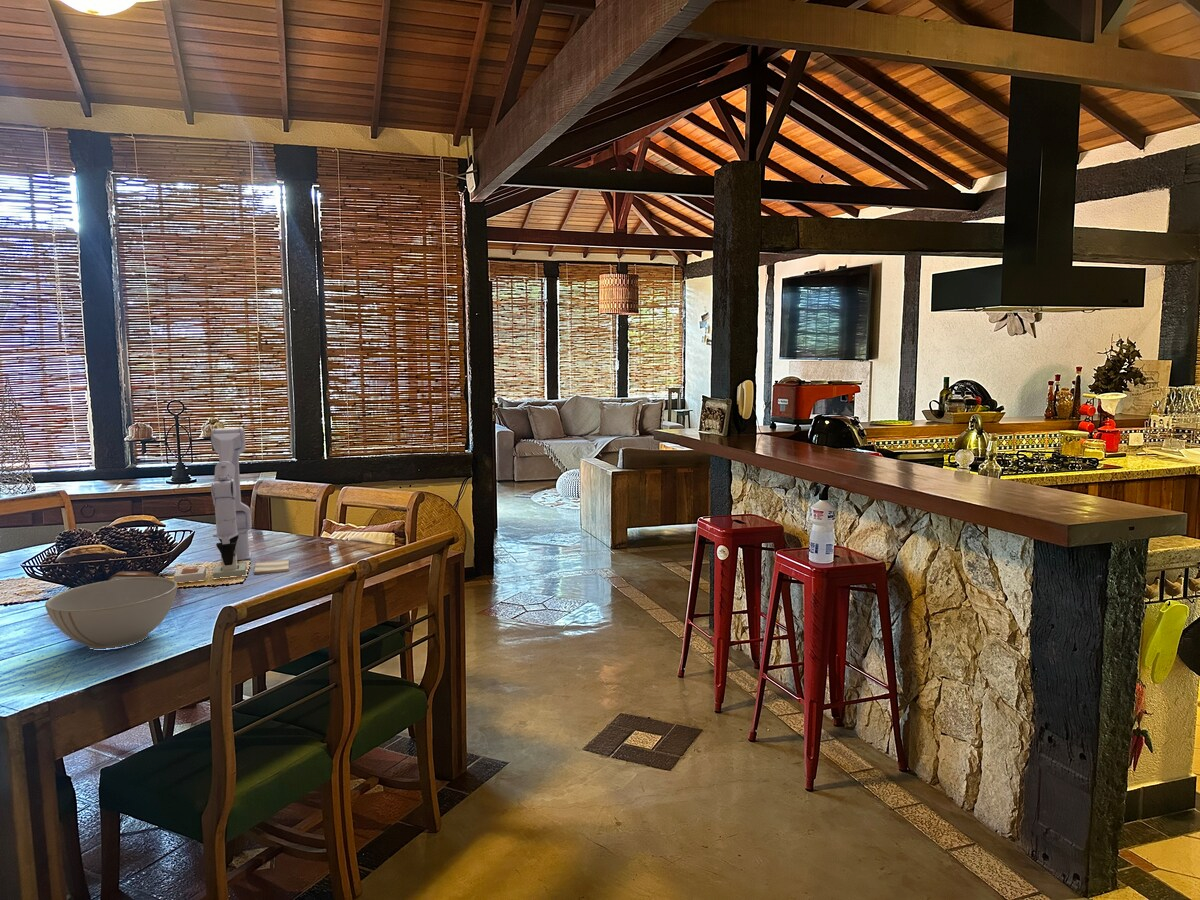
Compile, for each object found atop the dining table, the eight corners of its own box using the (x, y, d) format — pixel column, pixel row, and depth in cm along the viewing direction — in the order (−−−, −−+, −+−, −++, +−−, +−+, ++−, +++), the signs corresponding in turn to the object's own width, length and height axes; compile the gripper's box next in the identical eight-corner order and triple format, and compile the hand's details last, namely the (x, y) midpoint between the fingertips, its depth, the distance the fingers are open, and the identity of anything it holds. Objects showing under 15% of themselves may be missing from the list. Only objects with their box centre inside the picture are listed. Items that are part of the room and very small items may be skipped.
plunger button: (184, 576, 243) (183, 567, 243) (198, 575, 245) (197, 565, 244) (182, 580, 240) (181, 570, 239) (197, 578, 241) (196, 569, 241)
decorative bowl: (30, 669, 173) (24, 616, 172) (75, 629, 199) (70, 582, 198) (165, 655, 180) (161, 603, 179) (192, 617, 206) (188, 572, 205)
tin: (164, 600, 222) (161, 570, 221) (156, 603, 219) (154, 573, 218) (114, 599, 224) (111, 570, 223) (106, 603, 221) (103, 573, 220)
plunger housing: (177, 577, 245) (177, 569, 244) (206, 574, 247) (205, 566, 247) (174, 584, 237) (173, 576, 237) (203, 581, 240) (203, 573, 240)
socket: (215, 572, 250) (215, 566, 250) (246, 568, 253) (246, 562, 253) (213, 579, 241) (212, 573, 241) (245, 576, 245) (244, 569, 244)
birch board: (255, 565, 257) (255, 562, 257) (288, 561, 261) (288, 559, 261) (254, 574, 246) (254, 572, 246) (288, 570, 250) (288, 568, 249)
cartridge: (223, 573, 248) (222, 551, 247) (237, 571, 250) (236, 550, 249) (222, 576, 245) (221, 554, 244) (237, 575, 246) (235, 553, 245)
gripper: (213, 516, 250) (217, 558, 252) (209, 524, 237) (213, 569, 238) (238, 514, 253) (241, 555, 254) (235, 522, 239) (238, 566, 241)
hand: (229, 562), depth 247 cm, fingers open, 7 cm apart
